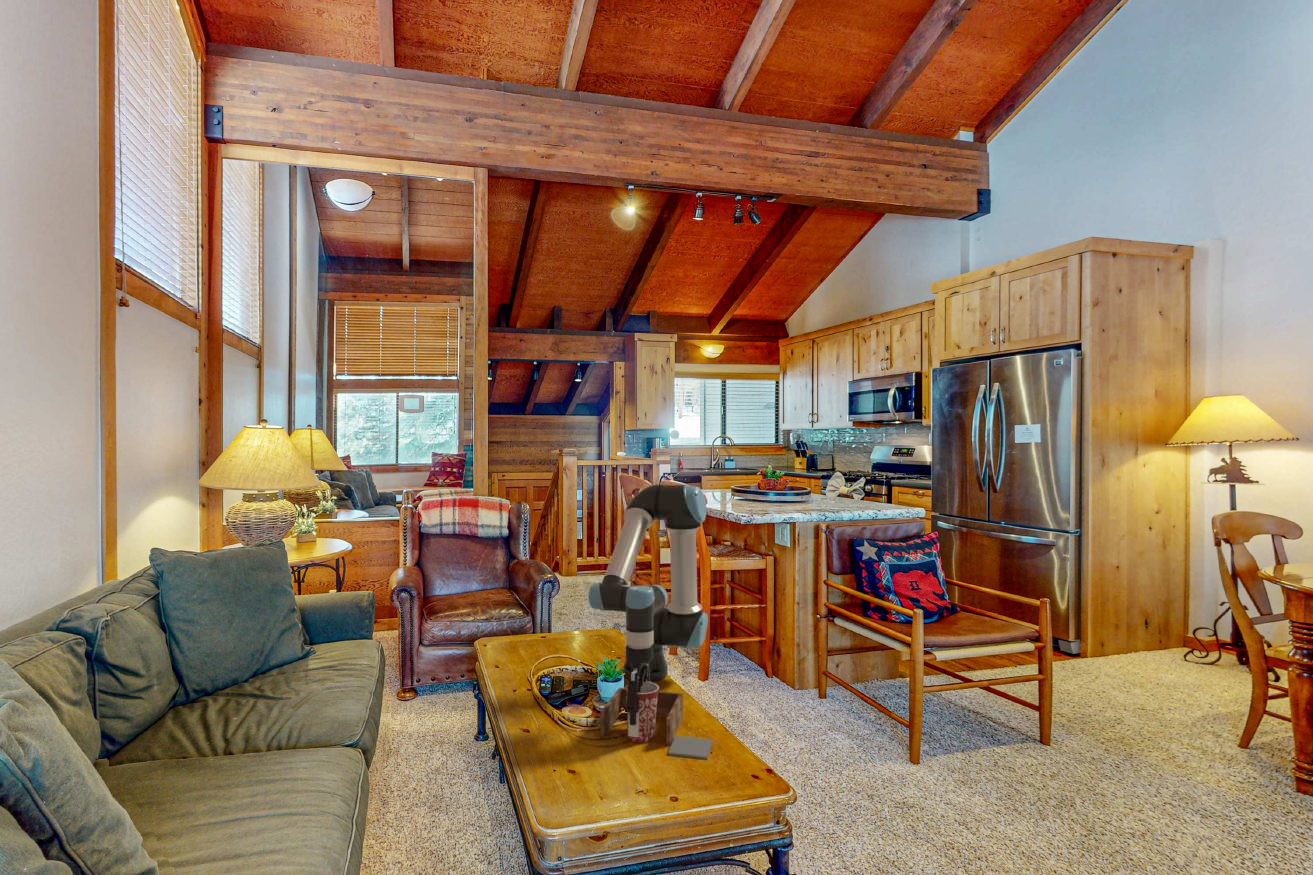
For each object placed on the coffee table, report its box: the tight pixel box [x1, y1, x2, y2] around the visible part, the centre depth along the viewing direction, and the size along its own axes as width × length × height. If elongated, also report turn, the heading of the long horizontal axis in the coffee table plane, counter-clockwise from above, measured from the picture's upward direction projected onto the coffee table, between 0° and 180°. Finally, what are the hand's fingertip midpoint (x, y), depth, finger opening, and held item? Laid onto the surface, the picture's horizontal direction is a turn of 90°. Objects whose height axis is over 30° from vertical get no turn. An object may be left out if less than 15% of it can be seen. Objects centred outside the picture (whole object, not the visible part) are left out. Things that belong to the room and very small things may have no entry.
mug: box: [624, 681, 660, 744], centre depth 185 cm, size 13×9×14 cm
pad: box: [667, 735, 714, 760], centre depth 177 cm, size 10×10×1 cm
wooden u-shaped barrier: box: [599, 687, 684, 747], centre depth 189 cm, size 18×19×7 cm
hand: (638, 727), depth 184 cm, fingers closed on mug, 10 cm apart
